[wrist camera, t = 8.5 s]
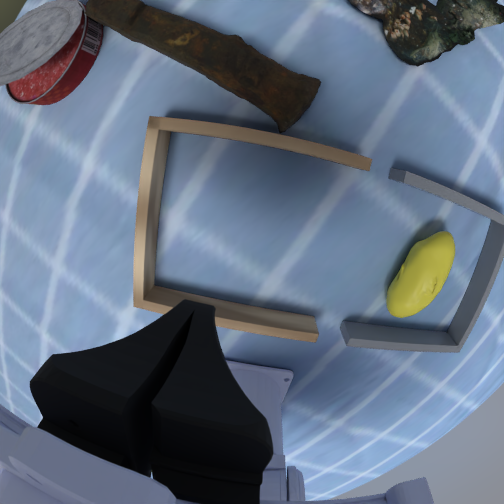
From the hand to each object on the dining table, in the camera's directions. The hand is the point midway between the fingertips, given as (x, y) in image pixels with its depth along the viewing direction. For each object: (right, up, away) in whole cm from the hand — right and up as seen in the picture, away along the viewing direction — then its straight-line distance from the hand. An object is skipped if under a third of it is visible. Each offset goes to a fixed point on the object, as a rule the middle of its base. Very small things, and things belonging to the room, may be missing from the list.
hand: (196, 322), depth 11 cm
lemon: (+16, +2, +9) cm, 18 cm away
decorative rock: (+16, +26, +1) cm, 31 cm away
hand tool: (-2, +17, +5) cm, 18 cm away
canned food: (-15, +20, +4) cm, 25 cm away
